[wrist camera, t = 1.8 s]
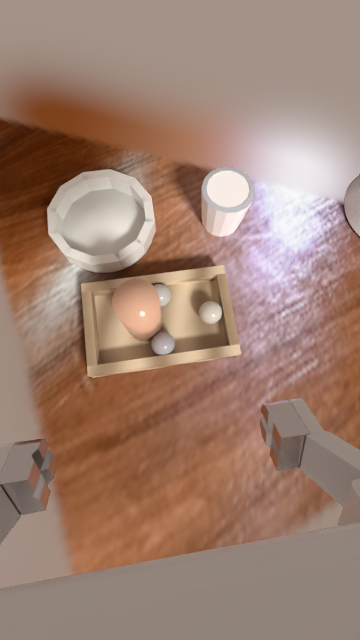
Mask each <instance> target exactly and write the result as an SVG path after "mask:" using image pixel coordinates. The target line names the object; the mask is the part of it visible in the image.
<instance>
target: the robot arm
mask: <svg viewBox="0 0 360 640" xmlns="http://www.w3.org/2000/svg"><path fill="white" fill-rule="evenodd" d="M344 208H345V213H346V216H347V219H348V221H349V223H350V225H351V226H352V228H353V229H354V231H355V232H356V233H357V234H358V235H359V236H360V175H359V176H358V177H357V178H355V179H354V180H353V181H352V182H351V184H350V185H349V187H348V189H347V191H346V194H345V198H344ZM261 412H262V414H263V417H262V418H261V422H260V426H261V433H262V436H263V439H264V442H265V444H266V445H267V446H269V447H270V448H271V450H270V456H271V458H272V460H273V463H274V465H275V467H276V469H277V471H280V470H287V469H294V468H300V470H302V471H303V472H304V473H305V474H306V475H307V476H308V477H310V478H311V479H312V480H313V481H314V482H315V483H316V484H318V485H319V486H320V487H321V488H322V489H323V490H324V491H326V492H327V493H328V494H329V495H330V496H331V497H333V498H334V499H335V500H336V501H337V502H338V503H339V504H341V505H342V506H343V510H342V513H341V515H340V518H339V521H338V526H336V527H330V528H325V529H319V530H314V531H308V532H303V533H298V534H292V535H287V536H281V537H276V538H270V539H265V540H259V541H254V542H249V543H243V544H238V545H232V546H227V547H221V548H216V549H210V550H205V551H200V552H194V553H189V554H183V555H178V556H172V557H167V558H162V559H156V560H151V561H145V562H140V563H134V564H129V565H124V566H118V567H113V568H107V569H102V570H97V571H91V572H86V573H80V574H75V575H70V576H64V577H59V578H54V579H48V580H43V581H37V582H32V583H26V584H21V585H15V586H10V587H5V588H0V640H360V450H359V449H357V448H356V447H354V446H352V445H351V444H349V443H347V442H346V441H344V440H342V439H341V438H339V437H337V436H336V435H334V434H332V433H331V432H329V431H327V432H325V431H324V430H323V428H322V427H321V425H320V424H319V422H318V421H317V419H316V418H315V416H314V415H313V413H312V412H311V410H310V409H309V407H308V406H307V404H306V403H305V401H304V400H303V399H302V398H298V399H291V400H284V401H278V402H272V403H266V404H263V405H262V408H261ZM48 445H49V444H48V442H47V441H46V439H37V440H30V441H23V442H15V443H8V444H1V446H0V544H1V543H2V541H3V540H4V539H5V538H6V536H7V535H8V533H9V532H10V531H11V529H12V528H13V527H14V525H15V524H16V523H17V521H18V520H19V519H20V517H21V516H20V515H24V514H30V513H34V512H39V511H45V510H46V507H47V503H48V499H49V495H50V489H49V488H48V485H49V484H50V482H51V481H52V480H53V479H54V474H55V458H54V455H53V453H52V452H51V451H49V450H47V449H48Z"/></svg>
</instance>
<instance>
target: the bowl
mask: <svg viewBox="0 0 360 640" xmlns="http://www.w3.org/2000/svg"><path fill="white" fill-rule="evenodd" d="M47 216H48V234H49V235H50V237H51V238H52V239H53V241H54V242H55V243H56V245H57V246H58V247H59V248H60V250H61V251H62V252H63V254H64V255H65V256H66V258H67V259H68V260H69V261H70V263H72V264H75V265H76V266H78V267H80V268H82V269H84V270H87V271H91V272H95V273H111V272H116V271H120V270H123V269H125V268H127V267H129V266H131V265H133V264H134V263H136V262H137V261H138V260H139V259H141V258H142V256H143V255H144V254H145V253H146V252H147V250H148V249H149V247H150V245H151V243H152V240H153V237H154V234H155V232H156V228H155V219H154V212H153V205H152V198H151V196H150V195H149V194H148V192H147V191H146V190H145V189H144V188H143V187H142V186H141V184H140V183H139V182H138V181H137V180H136V179H135V178H133V177H131V176H128V175H125V174H122V173H119V172H117V171H114V170H111V169H107V170H98V171H89V172H83V173H81V174H79V175H78V176H76V177H74V178H73V179H71V180H70V181H68V182H66V183H65V184H63V185H62V186H60V187H59V189H58V191H57V193H56V194H55V196H54V198H53V200H52V201H51V203H50V205H49V207H48V208H47Z"/></svg>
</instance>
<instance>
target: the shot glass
mask: <svg viewBox="0 0 360 640" xmlns="http://www.w3.org/2000/svg"><path fill="white" fill-rule="evenodd" d="M254 194H255V189H254V184H253V182H252V180H251V179H250V177H249V176H248V175H247V174H245V173H244V172H243V171H241V170H239V169H236V168H232V167H221V168H218V169H215V170H213V171H211V172H210V173H209V174H208V175H207V176H206V177H205V178H204V181H203V184H202V225H203V226H204V228H205V229H206V231H208V232H209V233H210V234H212V235H215V236H219V237H220V236H227V235H230V234H232V233H233V232H234V231H235V230H236V229H237V227H238V226H239V224H240V222H241V220H242V219H243V217H244V215H245V213H246V211H247V210H248V208H249V206H250V204H251V203H252V201H253V197H254Z"/></svg>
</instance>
